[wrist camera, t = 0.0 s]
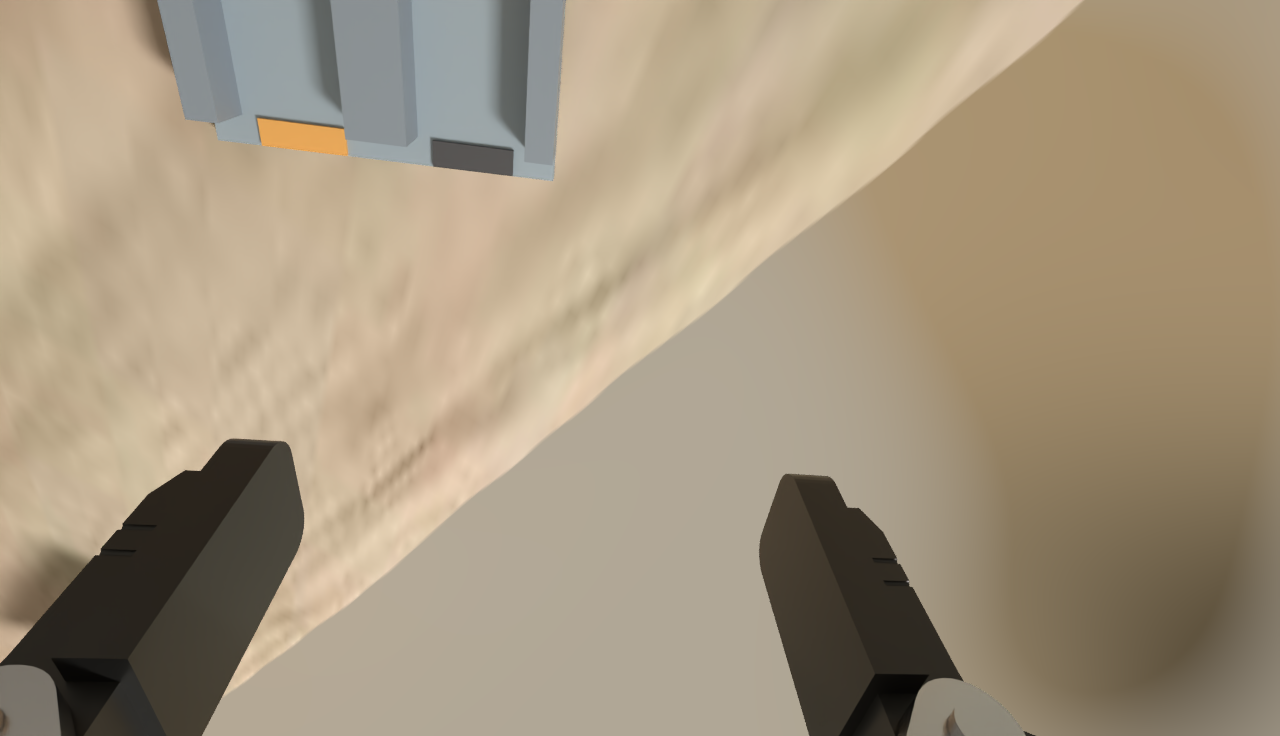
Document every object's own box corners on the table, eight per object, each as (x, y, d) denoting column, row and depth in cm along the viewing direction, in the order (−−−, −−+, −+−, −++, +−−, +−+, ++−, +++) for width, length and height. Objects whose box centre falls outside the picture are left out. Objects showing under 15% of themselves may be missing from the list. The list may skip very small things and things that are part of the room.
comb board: (165, -169, 27) (112, -189, 24) (571, -95, 29) (570, -104, 26) (227, 136, 34) (192, 150, 31) (554, 176, 36) (550, 193, 33)
